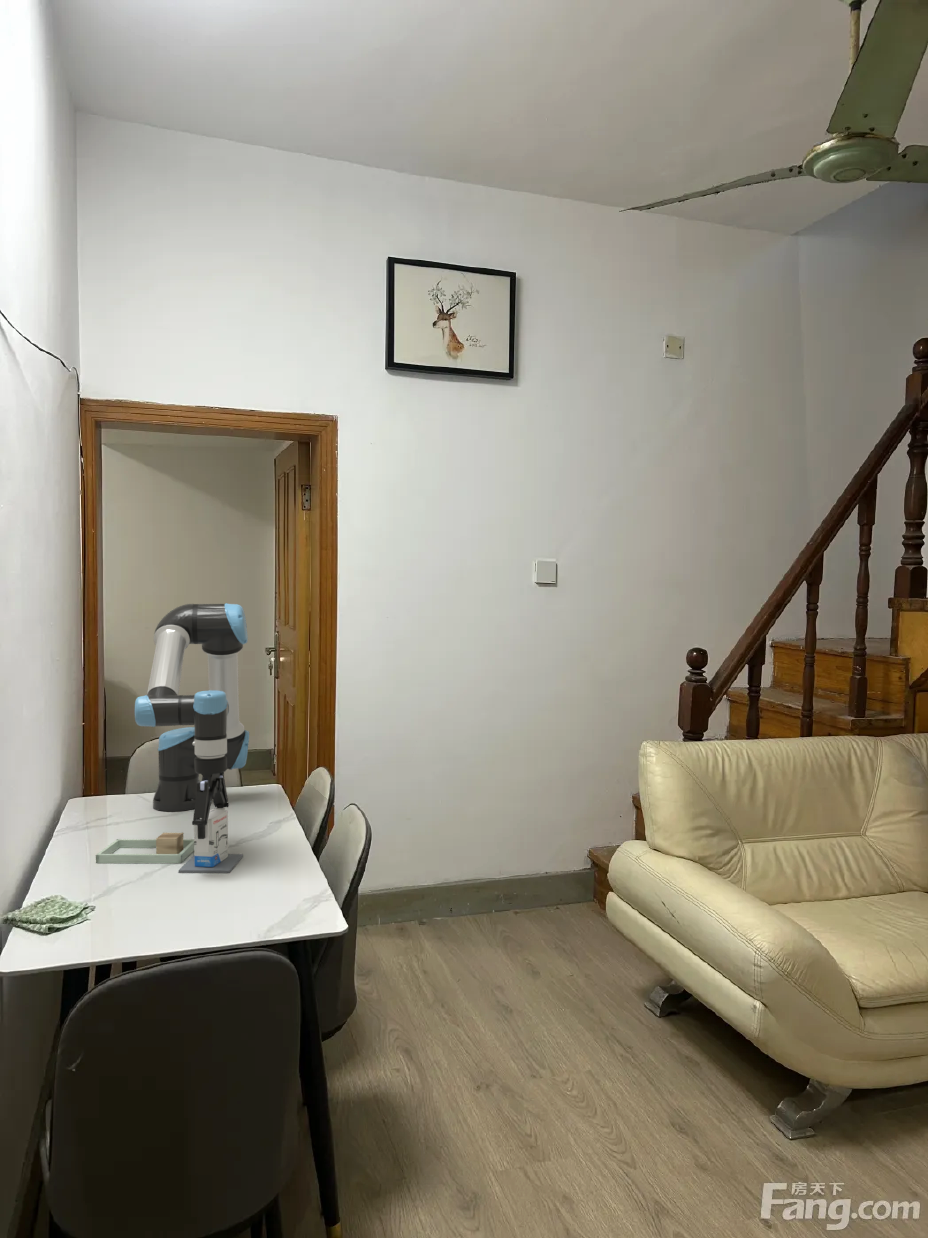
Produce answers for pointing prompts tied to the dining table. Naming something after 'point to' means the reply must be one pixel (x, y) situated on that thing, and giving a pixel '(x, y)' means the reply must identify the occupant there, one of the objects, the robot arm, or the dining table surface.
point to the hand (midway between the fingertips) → (211, 842)
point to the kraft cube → (169, 843)
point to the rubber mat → (221, 867)
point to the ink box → (214, 840)
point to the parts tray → (108, 857)
